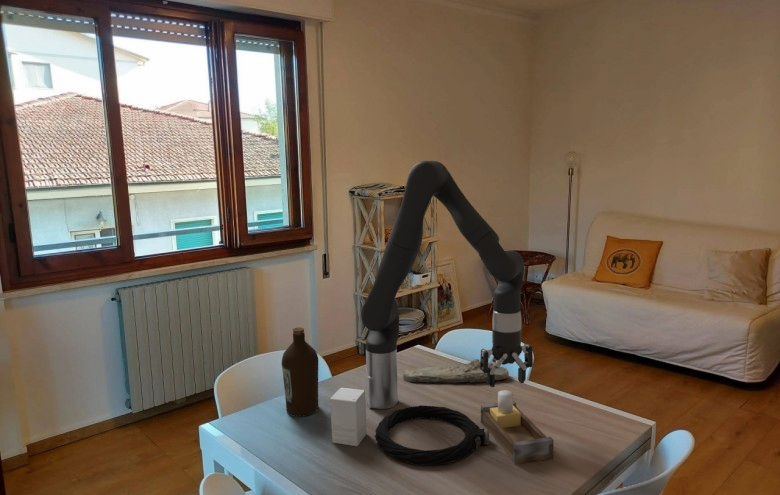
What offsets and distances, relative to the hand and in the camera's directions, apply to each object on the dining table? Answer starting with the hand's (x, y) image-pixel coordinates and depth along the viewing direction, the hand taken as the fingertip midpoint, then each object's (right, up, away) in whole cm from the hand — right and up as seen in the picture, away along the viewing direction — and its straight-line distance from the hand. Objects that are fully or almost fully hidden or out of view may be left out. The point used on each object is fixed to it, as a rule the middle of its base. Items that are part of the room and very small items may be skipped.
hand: (506, 384), depth 151 cm
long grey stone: (-10, -7, +36) cm, 38 cm away
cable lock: (-20, -14, -2) cm, 25 cm away
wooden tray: (+1, -14, -3) cm, 14 cm away
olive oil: (-57, -11, +15) cm, 61 cm away
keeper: (0, -11, +2) cm, 11 cm away
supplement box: (-42, -14, -1) cm, 45 cm away
